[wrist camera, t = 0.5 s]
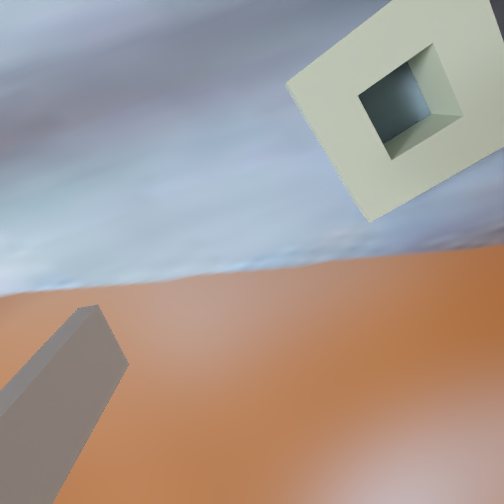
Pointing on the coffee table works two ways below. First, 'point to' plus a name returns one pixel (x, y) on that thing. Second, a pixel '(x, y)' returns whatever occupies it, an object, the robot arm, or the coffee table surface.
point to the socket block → (431, 86)
